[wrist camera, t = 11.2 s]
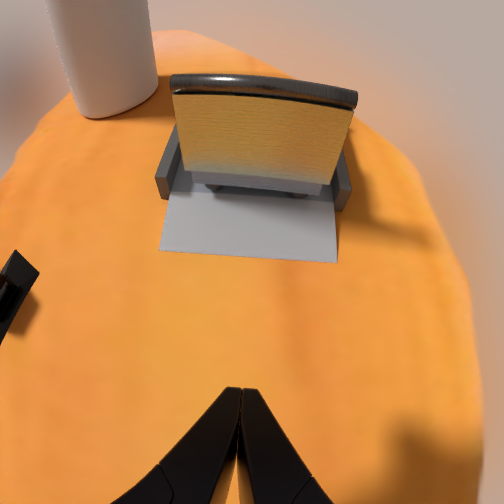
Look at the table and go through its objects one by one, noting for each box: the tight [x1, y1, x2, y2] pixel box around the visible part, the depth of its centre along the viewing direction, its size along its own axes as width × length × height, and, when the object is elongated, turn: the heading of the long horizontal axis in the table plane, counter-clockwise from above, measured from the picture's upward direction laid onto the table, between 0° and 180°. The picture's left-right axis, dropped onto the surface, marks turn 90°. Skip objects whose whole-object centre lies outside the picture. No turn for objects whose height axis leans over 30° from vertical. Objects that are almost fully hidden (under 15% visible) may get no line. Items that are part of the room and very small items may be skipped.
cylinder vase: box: [45, 0, 158, 118], centre depth 23 cm, size 12×12×25 cm
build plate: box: [0, 250, 39, 345], centre depth 17 cm, size 12×7×5 cm, turn 155°
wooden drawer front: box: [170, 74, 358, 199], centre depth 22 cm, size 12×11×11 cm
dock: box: [155, 124, 352, 263], centre depth 25 cm, size 19×16×5 cm
